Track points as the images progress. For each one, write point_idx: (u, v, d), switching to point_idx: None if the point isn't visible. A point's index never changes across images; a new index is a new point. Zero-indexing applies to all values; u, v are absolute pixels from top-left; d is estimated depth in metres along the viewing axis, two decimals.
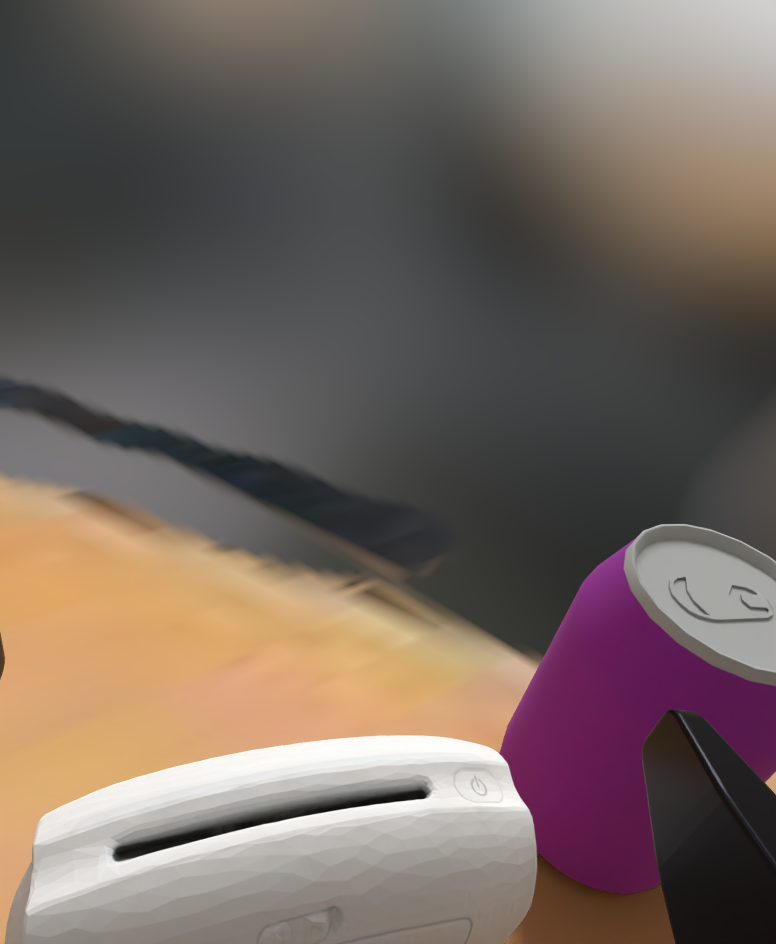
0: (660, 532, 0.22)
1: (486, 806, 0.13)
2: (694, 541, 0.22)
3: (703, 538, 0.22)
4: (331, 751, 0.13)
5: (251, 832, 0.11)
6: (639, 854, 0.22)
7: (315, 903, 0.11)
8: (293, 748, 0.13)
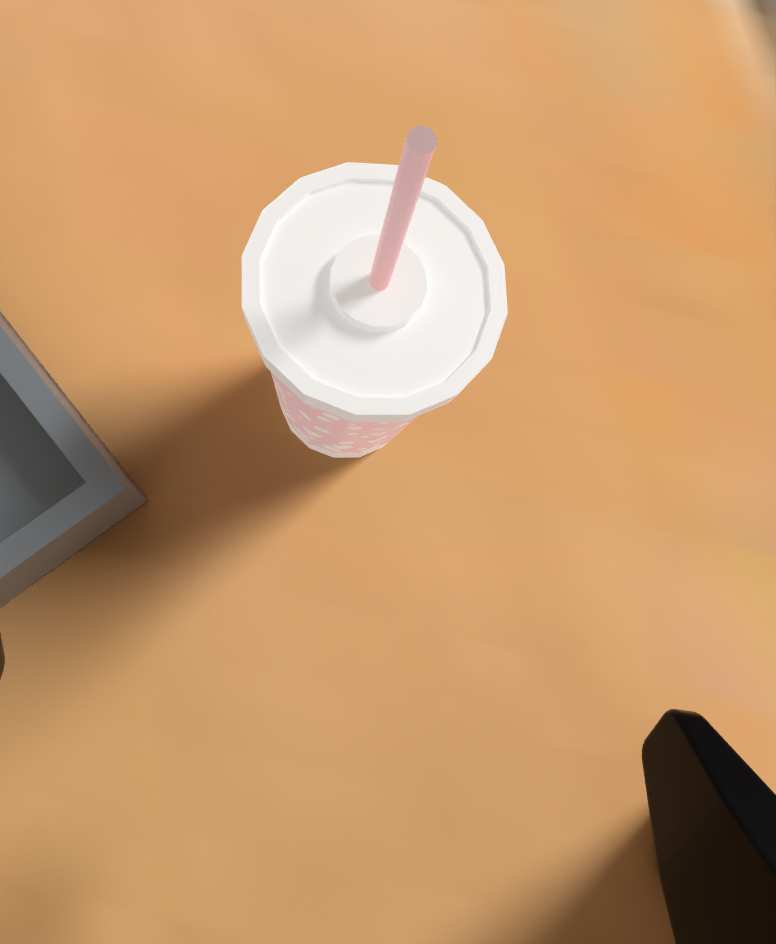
0: None
1: None
2: None
3: None
4: None
5: None
6: None
7: None
8: None
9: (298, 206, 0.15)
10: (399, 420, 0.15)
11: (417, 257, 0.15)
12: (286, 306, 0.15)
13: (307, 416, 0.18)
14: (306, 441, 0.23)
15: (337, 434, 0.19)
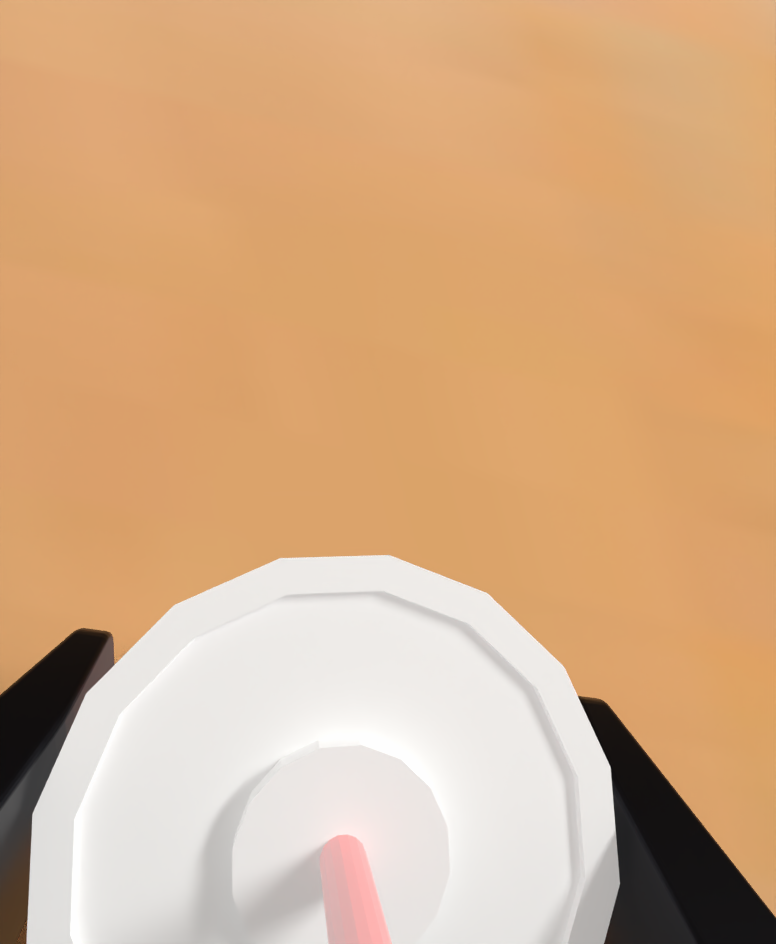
0: None
1: None
2: None
3: None
4: None
5: None
6: None
7: None
8: None
9: (169, 670, 0.07)
10: None
11: (428, 793, 0.07)
12: (136, 920, 0.07)
13: None
14: None
15: None
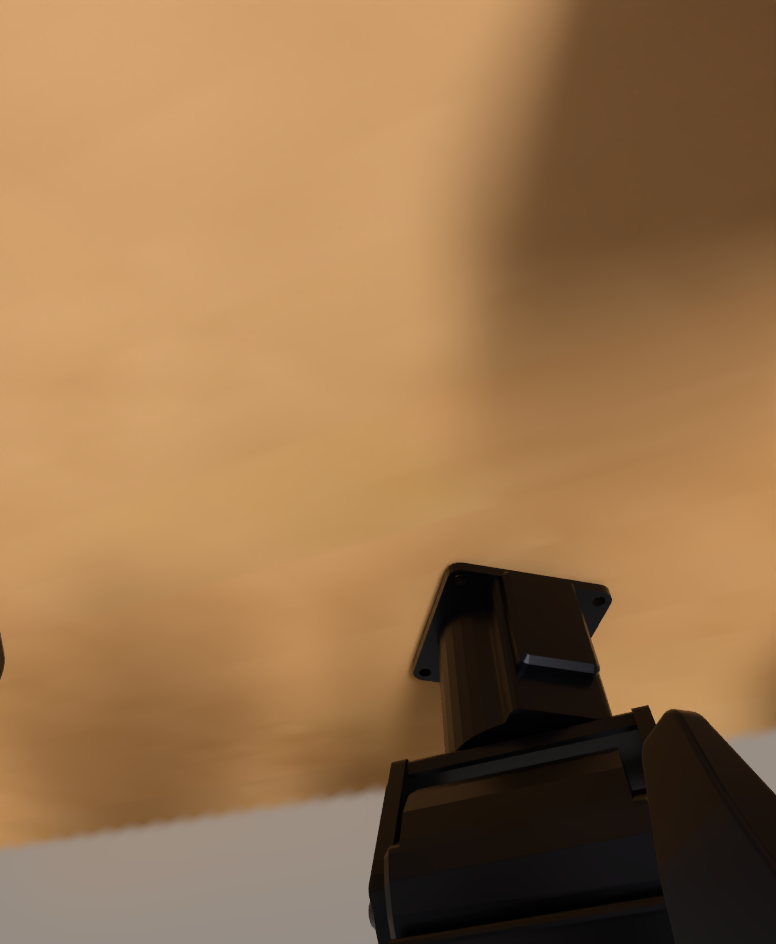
0: None
1: None
2: None
3: None
4: None
5: None
6: None
7: None
8: None
9: None
10: None
11: None
12: None
13: None
14: None
15: None
